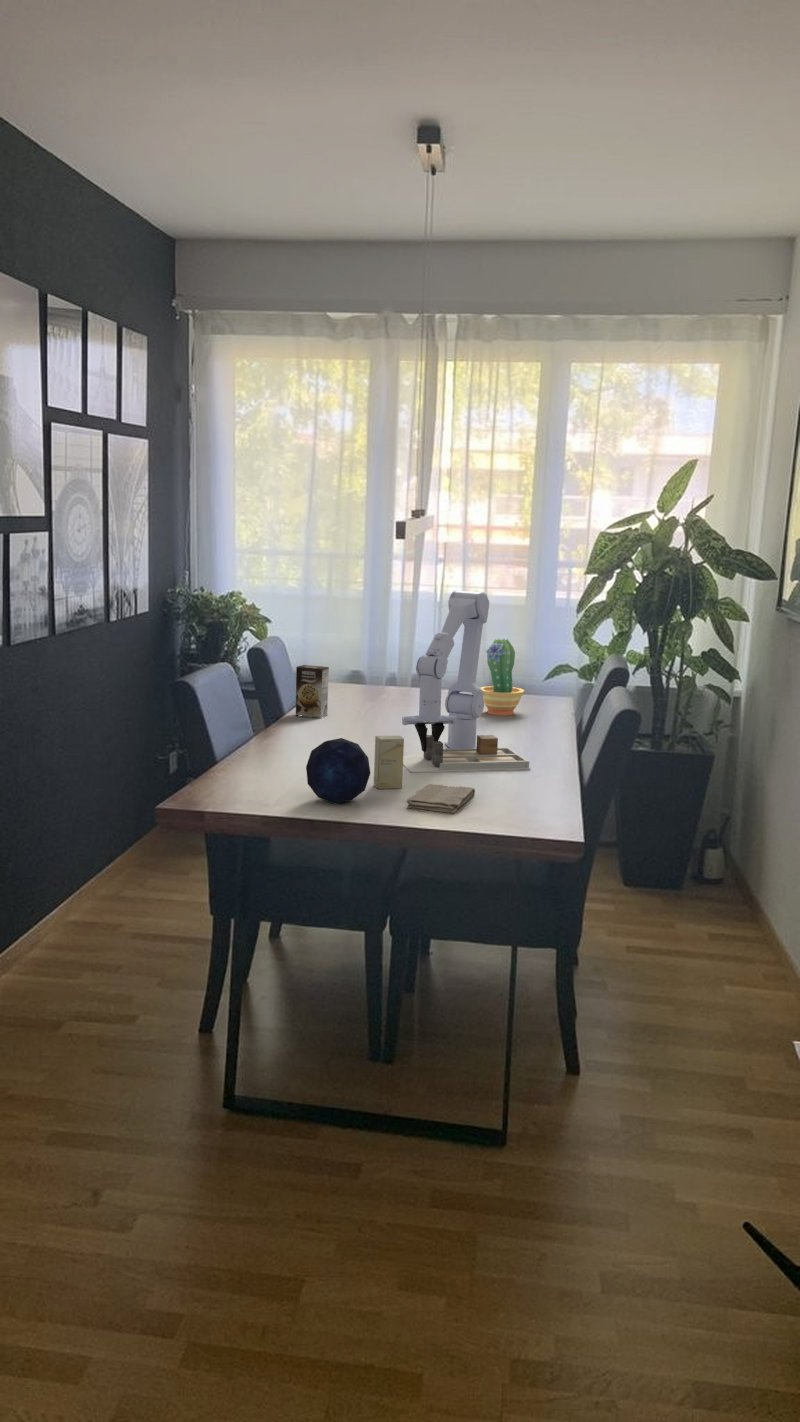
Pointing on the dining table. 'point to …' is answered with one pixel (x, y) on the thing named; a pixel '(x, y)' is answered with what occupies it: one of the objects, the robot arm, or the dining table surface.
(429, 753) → the strip
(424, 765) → the lane board
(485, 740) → the walnut cube
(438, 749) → the broken strip
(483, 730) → the dining table surface
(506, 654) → the potted cactus
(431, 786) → the washcloth
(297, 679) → the coffee box
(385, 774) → the skincare box
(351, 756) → the decorative orb
